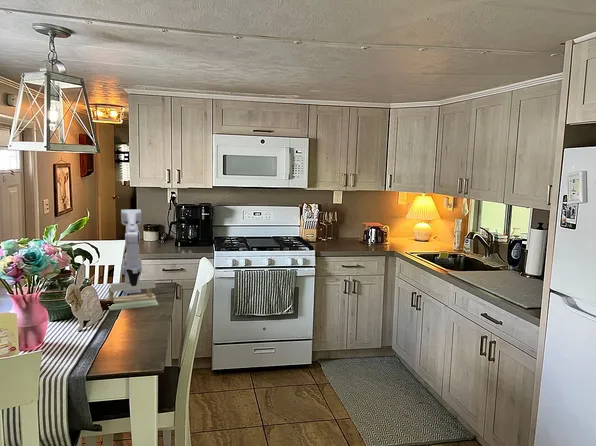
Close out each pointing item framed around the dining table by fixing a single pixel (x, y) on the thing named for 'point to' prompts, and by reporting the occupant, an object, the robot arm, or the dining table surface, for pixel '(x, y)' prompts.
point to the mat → (133, 305)
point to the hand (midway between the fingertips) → (133, 284)
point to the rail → (128, 286)
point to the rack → (131, 297)
